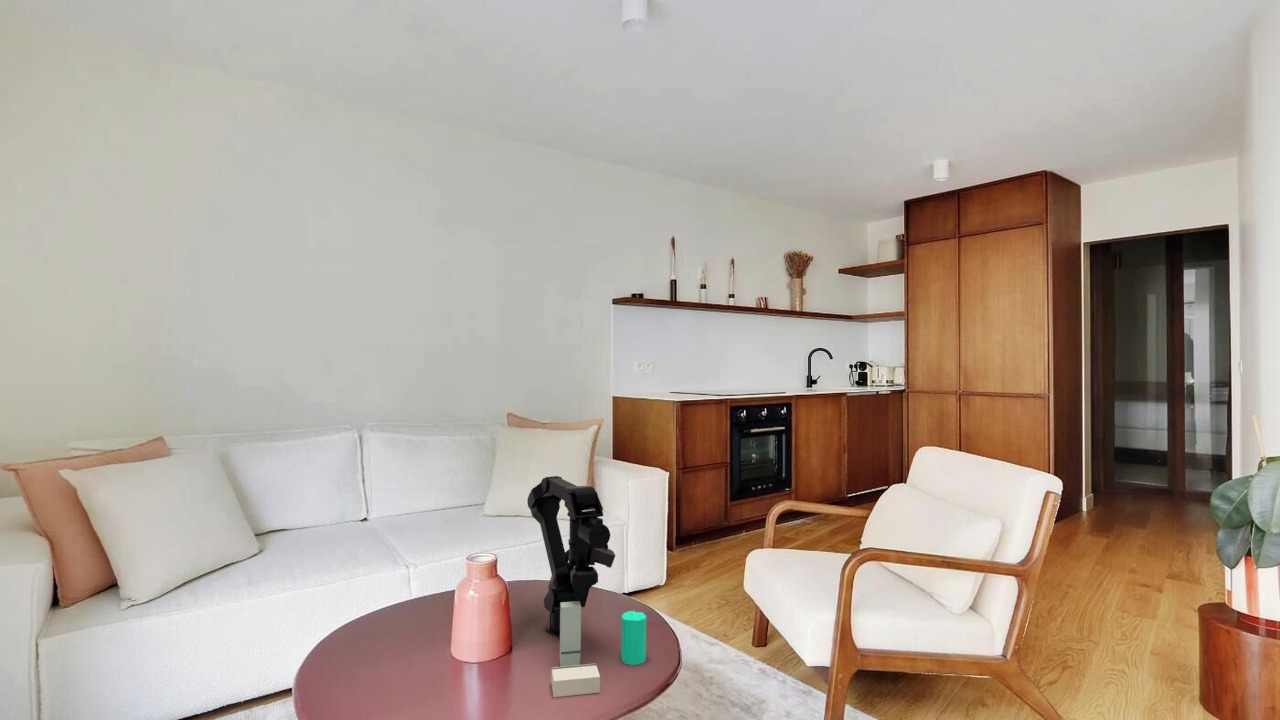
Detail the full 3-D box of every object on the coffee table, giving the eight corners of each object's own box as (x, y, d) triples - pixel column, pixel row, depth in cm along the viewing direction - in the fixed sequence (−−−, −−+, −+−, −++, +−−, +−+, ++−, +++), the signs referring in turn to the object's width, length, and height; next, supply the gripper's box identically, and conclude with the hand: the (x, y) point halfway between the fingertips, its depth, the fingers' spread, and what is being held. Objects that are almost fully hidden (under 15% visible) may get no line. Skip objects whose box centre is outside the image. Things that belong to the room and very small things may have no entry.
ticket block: (551, 683, 145) (551, 667, 145) (595, 678, 147) (595, 663, 147) (553, 697, 139) (553, 680, 139) (599, 692, 141) (600, 676, 141)
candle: (643, 666, 153) (644, 615, 153) (618, 663, 154) (619, 613, 154) (648, 654, 159) (648, 605, 159) (624, 651, 160) (625, 603, 160)
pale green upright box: (559, 660, 154) (560, 602, 154) (578, 658, 155) (579, 601, 155) (560, 666, 151) (561, 607, 151) (580, 665, 152) (581, 606, 152)
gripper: (619, 547, 154) (618, 612, 154) (606, 526, 172) (606, 584, 172) (572, 549, 152) (571, 615, 152) (564, 528, 170) (564, 587, 170)
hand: (580, 599), depth 162 cm, fingers open, 9 cm apart
